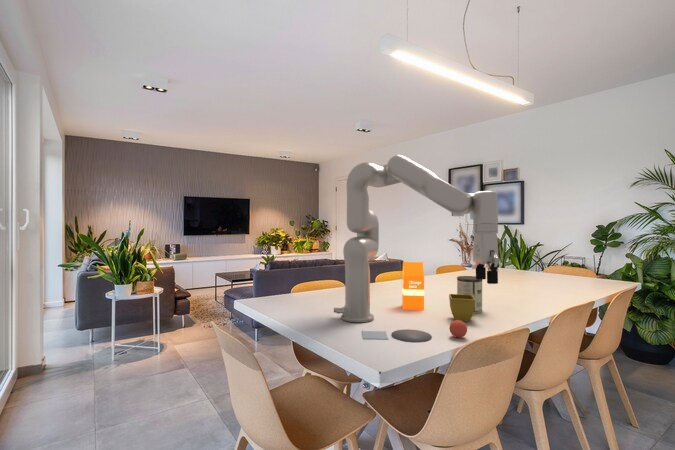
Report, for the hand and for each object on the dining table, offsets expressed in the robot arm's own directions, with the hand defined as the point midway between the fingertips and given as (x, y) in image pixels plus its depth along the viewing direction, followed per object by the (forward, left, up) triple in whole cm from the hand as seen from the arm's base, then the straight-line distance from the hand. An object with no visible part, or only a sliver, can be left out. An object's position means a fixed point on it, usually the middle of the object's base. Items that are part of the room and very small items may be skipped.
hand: (486, 281), depth 120 cm
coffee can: (+7, +36, -18) cm, 41 cm away
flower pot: (-1, +21, -18) cm, 28 cm away
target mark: (-24, 0, -18) cm, 30 cm away
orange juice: (-16, +41, -18) cm, 48 cm away
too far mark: (-36, 0, -18) cm, 41 cm away
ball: (-9, -1, -15) cm, 18 cm away
